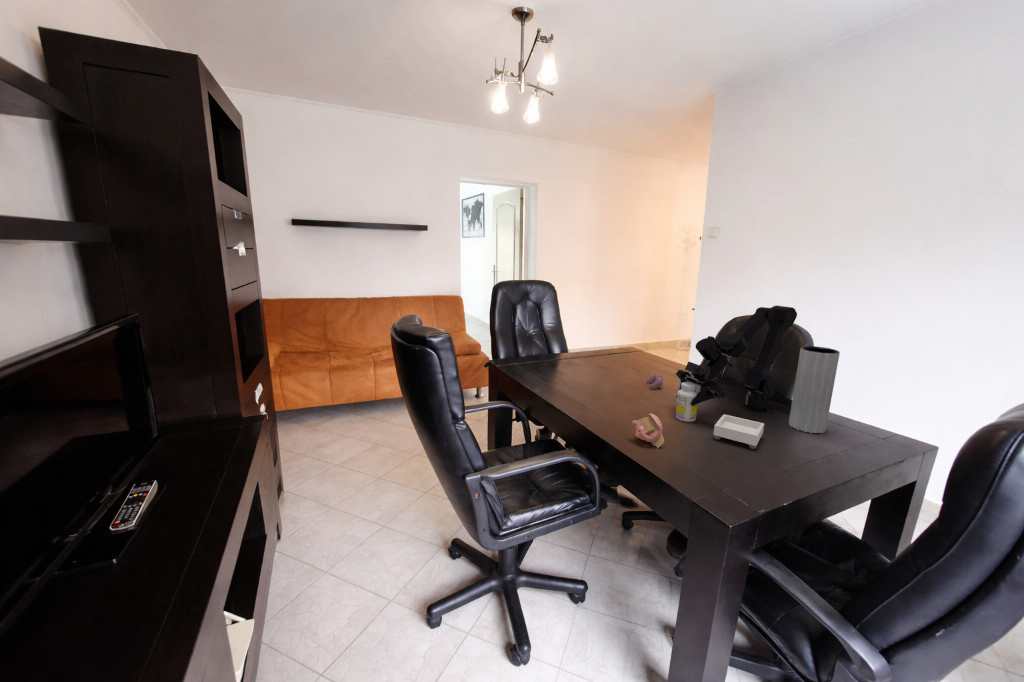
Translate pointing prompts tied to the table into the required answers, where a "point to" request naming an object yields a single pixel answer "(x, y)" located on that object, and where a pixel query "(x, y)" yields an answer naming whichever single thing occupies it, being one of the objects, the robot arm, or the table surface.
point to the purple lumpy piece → (655, 381)
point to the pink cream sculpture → (649, 430)
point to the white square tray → (739, 430)
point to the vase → (813, 388)
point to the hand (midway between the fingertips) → (684, 401)
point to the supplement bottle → (686, 402)
